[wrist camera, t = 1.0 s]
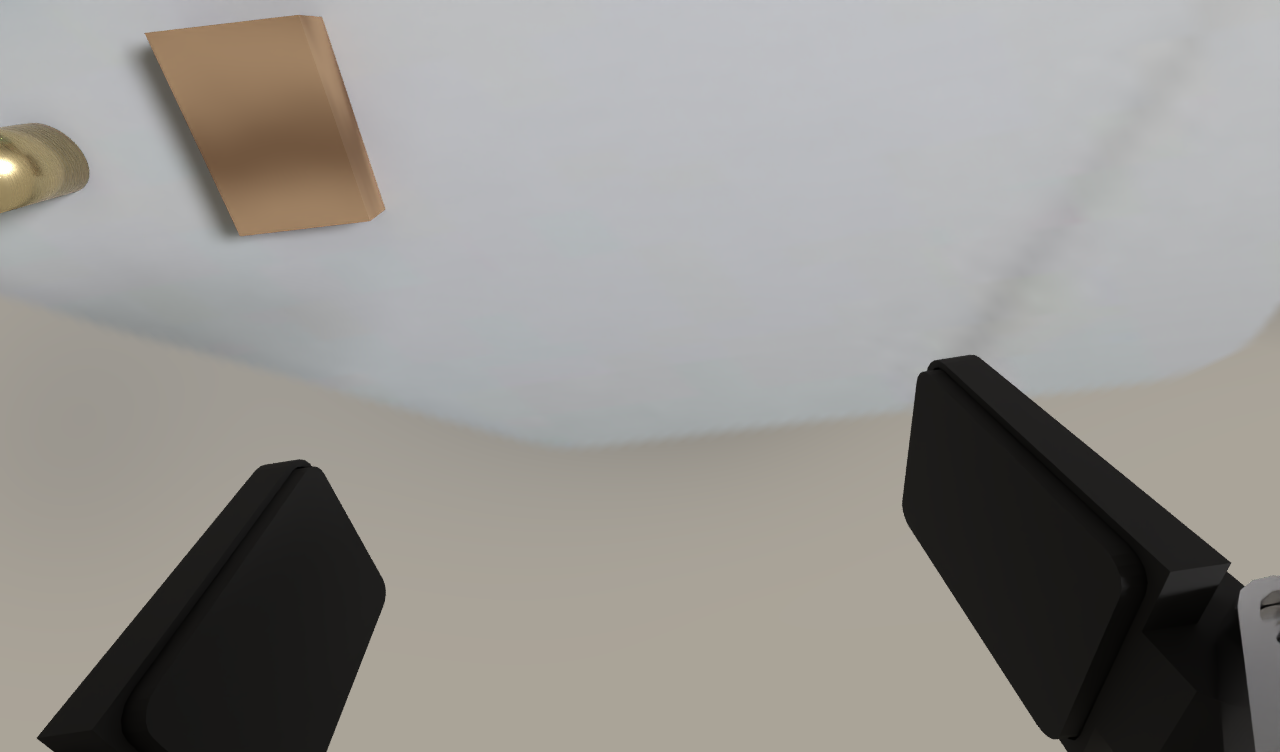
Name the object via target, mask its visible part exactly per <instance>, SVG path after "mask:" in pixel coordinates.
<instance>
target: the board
mask: <svg viewBox="0 0 1280 752" xmlns="http://www.w3.org/2000/svg"><path fill="white" fill-rule="evenodd" d="M145 35H146V37H147V39H148V41H149V43H150V45H151V48H152V50H153V52H154V54H155V56H156V58H157V60H158V62H159V65H160V67H161V69H162V71H163V73H164V75H165V77H166V80H167V82H168V84H169V86H170V88H171V90H172V92H173V94H174V97H175V99H176V101H177V103H178V105H179V107H180V109H181V111H182V114H183V116H184V118H185V120H186V122H187V124H188V126H189V128H190V131H191V133H192V135H193V137H194V139H195V141H196V143H197V145H198V148H199V150H200V152H201V154H202V156H203V158H204V160H205V162H206V165H207V167H208V169H209V171H210V173H211V175H212V177H213V180H214V182H215V184H216V186H217V188H218V190H219V192H220V194H221V197H222V199H223V201H224V203H225V205H226V207H227V209H228V211H229V214H230V216H231V218H232V220H233V222H234V224H235V226H236V228H237V231H238V233H239V235H240V236H246V235H255V234H263V233H272V232H280V231H289V230H298V229H306V228H315V227H323V226H332V225H341V224H349V223H358V222H366V221H371V220H372V219H373V218H375V217H376V216H377V215H379V214H380V213H381V212H383V211H384V210H385V207H384V204H383V201H382V198H381V195H380V192H379V189H378V186H377V182H376V179H375V176H374V173H373V170H372V167H371V164H370V161H369V158H368V155H367V152H366V149H365V146H364V143H363V140H362V137H361V134H360V131H359V128H358V125H357V122H356V119H355V116H354V113H353V110H352V107H351V104H350V101H349V98H348V95H347V91H346V88H345V85H344V82H343V79H342V76H341V73H340V70H339V67H338V64H337V61H336V58H335V55H334V52H333V49H332V46H331V43H330V40H329V37H328V34H327V31H326V28H325V25H324V22H323V19H322V17H315V16H304V15H294V16H286V17H277V18H269V19H260V20H252V21H243V22H235V23H226V24H218V25H209V26H201V27H192V28H184V29H175V30H167V31H159V32H150V33H145Z"/></svg>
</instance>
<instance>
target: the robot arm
mask: <svg viewBox="0 0 1280 752" xmlns="http://www.w3.org/2000/svg"><path fill="white" fill-rule="evenodd" d="M902 507H903V513H904V516H905V519H906V522H907V524H908V525H909V527H910V529H911V530H912V532H913V533H914V535H915V536H916V538H917V540H918V541H919V542H920V544H921V546H922V547H923V549H924V550H925V552H926V553H927V555H928V556H929V558H930V560H931V561H932V563H933V564H934V566H935V567H936V569H937V571H938V572H939V574H940V575H941V577H942V578H943V580H944V581H945V583H946V585H947V586H948V588H949V589H950V591H951V592H952V594H953V595H954V597H955V598H956V600H957V602H958V603H959V604H960V606H961V608H962V609H963V611H964V612H965V614H966V615H967V617H968V619H969V620H970V622H971V623H972V625H973V626H974V628H975V629H976V631H977V633H978V634H979V636H980V637H981V639H982V640H983V642H984V643H985V645H986V646H987V648H988V650H989V651H990V653H991V654H992V656H993V657H994V659H995V660H996V662H997V664H998V665H999V667H1000V668H1001V670H1002V671H1003V673H1004V674H1005V676H1006V678H1007V679H1008V681H1009V682H1010V684H1011V685H1012V687H1013V688H1014V690H1015V691H1016V693H1017V695H1018V696H1019V698H1020V699H1021V701H1022V702H1023V704H1024V705H1025V707H1026V709H1027V710H1028V711H1029V713H1030V715H1031V716H1032V717H1033V719H1034V721H1035V722H1036V724H1037V725H1038V727H1039V728H1040V729H1041V731H1042V732H1043V733H1044V734H1045V735H1047V736H1048V737H1050V738H1051V739H1059V740H1060V741H1061V743H1062V744H1063V745H1064V747H1065V749H1066V750H1067V752H1280V576H1269V577H1264V578H1260V579H1256V580H1252V581H1251V582H1250V583H1249V584H1247V585H1246V586H1243V585H1242V584H1241V583H1240V582H1239V581H1238V580H1236V579H1235V578H1234V577H1233V576H1232V575H1230V574H1229V573H1228V572H1227V570H1228V568H1229V566H1230V564H1231V562H1229V561H1228V560H1227V559H1226V558H1225V557H1223V556H1222V555H1221V554H1220V553H1218V552H1217V551H1216V550H1215V549H1213V548H1212V547H1211V546H1210V545H1209V544H1207V543H1206V542H1205V541H1204V540H1202V539H1201V538H1200V537H1199V536H1197V535H1196V534H1195V533H1194V532H1193V531H1191V530H1190V529H1189V528H1187V526H1185V525H1184V524H1183V523H1181V522H1180V521H1179V520H1178V519H1177V518H1176V517H1174V516H1173V515H1172V514H1171V513H1169V512H1168V511H1167V510H1166V509H1164V508H1163V507H1162V506H1161V505H1160V504H1158V503H1157V502H1156V501H1155V500H1153V499H1152V498H1151V497H1150V496H1149V495H1147V494H1146V493H1145V492H1144V491H1142V490H1141V489H1140V488H1139V487H1137V486H1136V485H1135V484H1134V483H1133V482H1131V481H1130V480H1129V479H1128V478H1126V477H1125V476H1124V475H1123V474H1122V473H1120V472H1119V471H1118V470H1117V469H1115V468H1114V467H1113V466H1112V465H1110V464H1109V463H1108V462H1107V461H1106V460H1104V459H1103V458H1102V457H1101V456H1099V455H1098V454H1097V453H1096V452H1094V451H1093V450H1092V449H1091V448H1090V447H1088V446H1087V445H1086V444H1085V443H1084V442H1082V441H1081V440H1080V439H1079V438H1077V437H1076V436H1075V435H1074V434H1073V433H1071V432H1070V431H1069V430H1067V429H1066V428H1065V427H1064V426H1063V425H1061V424H1060V423H1059V422H1058V421H1057V420H1055V419H1054V418H1053V417H1052V416H1050V415H1049V414H1048V413H1047V412H1046V411H1044V410H1043V409H1042V408H1041V407H1039V406H1038V405H1037V404H1036V403H1035V402H1033V401H1032V400H1031V399H1030V398H1028V397H1027V396H1026V395H1025V394H1023V393H1022V392H1021V391H1020V390H1019V389H1017V388H1016V387H1015V386H1014V385H1012V384H1011V383H1010V382H1009V381H1008V380H1006V379H1005V378H1004V377H1003V376H1001V375H1000V374H999V373H998V372H996V371H995V370H994V369H993V368H992V367H990V366H989V365H988V364H987V363H985V362H984V361H983V360H982V359H981V358H979V357H977V356H975V355H966V356H960V357H953V358H947V359H941V360H935V361H933V362H931V363H930V365H929V367H928V369H927V371H925V372H922V373H920V374H919V376H918V379H917V384H916V392H915V401H914V409H913V417H912V426H911V435H910V442H909V450H908V459H907V467H906V476H905V483H904V493H903V500H902ZM385 596H386V590H385V584H384V581H383V579H382V577H381V575H380V573H379V571H378V570H377V568H376V566H375V564H374V563H373V561H372V559H371V557H370V555H369V554H368V552H367V550H366V548H365V546H364V544H363V543H362V541H361V539H360V537H359V536H358V534H357V532H356V530H355V528H354V527H353V525H352V523H351V521H350V519H349V518H348V516H347V514H346V512H345V510H344V509H343V507H342V505H341V504H340V501H339V500H338V498H337V496H336V494H335V493H334V491H333V489H332V487H331V485H330V484H329V482H328V480H327V478H326V476H325V474H324V473H323V472H322V470H321V469H319V468H318V467H312V466H311V465H310V463H308V462H307V461H305V460H300V459H299V460H293V461H286V462H279V463H273V464H267V465H263V466H260V467H259V468H258V469H257V470H256V471H255V472H254V473H253V474H252V475H251V477H250V478H249V479H248V480H247V481H246V483H245V484H244V485H243V486H242V488H241V489H240V490H239V491H238V492H237V494H236V495H235V496H234V497H233V499H232V500H231V501H230V502H229V503H228V505H227V506H226V507H225V508H224V510H223V511H222V512H221V513H220V514H219V516H218V517H217V518H216V519H215V521H214V522H213V523H212V524H211V525H210V527H209V528H208V529H207V531H206V532H205V533H204V534H203V535H202V536H201V538H200V539H199V540H198V541H197V543H196V544H195V545H194V546H193V547H192V549H191V550H190V551H189V552H188V554H187V555H186V556H185V557H184V558H183V560H182V561H181V562H180V563H179V565H178V566H177V567H176V568H175V569H174V571H173V572H172V573H171V574H170V576H169V577H168V578H167V579H166V580H165V582H164V583H163V584H162V585H161V587H160V588H159V589H158V590H157V591H156V593H155V594H154V595H153V596H152V598H151V599H150V600H149V601H148V602H147V604H146V605H145V606H144V607H143V609H142V610H141V611H140V612H139V613H138V615H137V616H136V617H135V618H134V620H133V621H132V622H131V623H130V624H129V626H128V627H127V628H126V629H125V631H124V632H123V633H122V634H121V635H120V637H119V638H118V639H117V640H116V642H115V643H114V644H113V645H112V646H111V648H110V649H109V650H108V651H107V653H106V654H105V655H104V656H103V657H102V659H101V660H100V661H99V662H98V664H97V665H96V666H95V667H94V668H93V670H92V671H91V672H90V674H89V675H88V676H87V677H86V678H85V679H84V681H83V682H82V683H81V684H80V686H79V687H78V688H77V689H76V690H75V692H74V693H73V694H72V695H71V697H70V698H69V699H68V700H67V702H66V703H65V704H64V705H63V706H62V708H61V709H60V710H59V711H58V712H57V714H56V715H55V716H54V717H53V719H52V720H51V721H50V722H49V723H48V725H47V726H46V727H45V728H44V730H43V731H42V732H41V733H40V735H39V736H38V737H37V739H38V740H40V741H41V742H42V743H44V744H45V745H46V746H47V747H49V748H50V749H51V750H52V751H54V752H326V751H327V749H328V746H329V744H330V741H331V738H332V736H333V734H334V731H335V728H336V726H337V723H338V721H339V718H340V715H341V713H342V710H343V707H344V705H345V703H346V700H347V698H348V695H349V692H350V690H351V687H352V685H353V682H354V680H355V677H356V675H357V672H358V669H359V667H360V664H361V661H362V659H363V656H364V654H365V652H366V649H367V646H368V644H369V641H370V638H371V636H372V634H373V631H374V628H375V625H376V623H377V621H378V618H379V616H380V613H381V610H382V608H383V605H384V602H385Z"/></svg>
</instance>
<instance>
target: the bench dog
mask: <svg viewBox="0 0 1280 752" xmlns="http://www.w3.org/2000/svg"><path fill="white" fill-rule="evenodd" d="M88 179H89V167H88V163H87V161H86V159H85V157H84V155H83V153H82V152H81V150H80V149H79V148H78V146H77V145H76V144H75V143H74V142H73V141H72V140H71V139H70V138H69V137H67V136H66V135H65V134H63V133H62V132H60V131H58V130H57V129H55V128H52V127H50V126H47V125H44V124H39V123H28V124H21V125H14V126H7V127H0V213H3V212H6V211H10V210H13V209H17V208H20V207H24V206H27V205H31V204H34V203H38V202H41V201H45V200H48V199H52V198H55V197H59V196H62V195H66V194H69V193H73V192H76V191H79V190H81V189H82V188H83V187H84V186H85V185H86V184H87V182H88Z"/></svg>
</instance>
